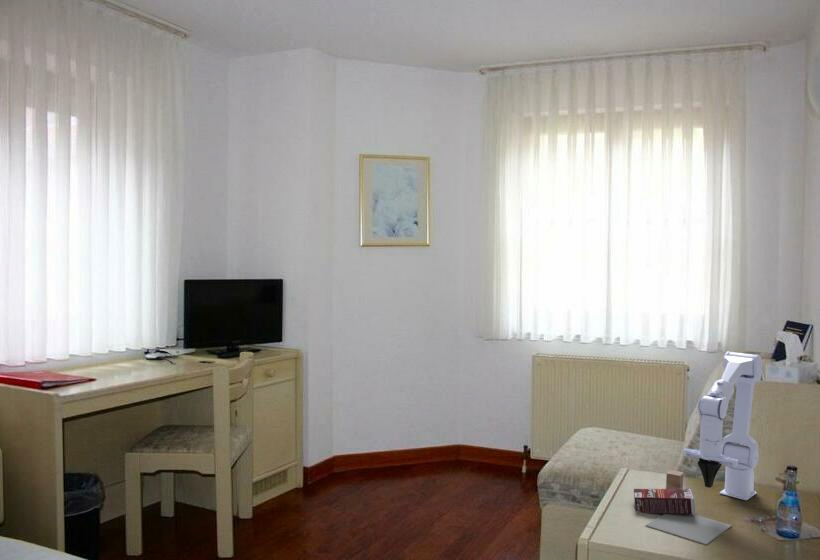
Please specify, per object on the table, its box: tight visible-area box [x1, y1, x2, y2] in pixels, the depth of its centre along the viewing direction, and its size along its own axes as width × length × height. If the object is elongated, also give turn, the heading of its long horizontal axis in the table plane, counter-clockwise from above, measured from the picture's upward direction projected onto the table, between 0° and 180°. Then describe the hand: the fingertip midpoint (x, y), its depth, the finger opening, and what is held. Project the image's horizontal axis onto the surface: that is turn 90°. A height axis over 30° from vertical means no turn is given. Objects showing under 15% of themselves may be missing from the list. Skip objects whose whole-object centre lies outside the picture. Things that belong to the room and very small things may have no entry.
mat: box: [645, 514, 733, 546], centre depth 184 cm, size 18×16×1 cm
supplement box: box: [633, 488, 696, 515], centre depth 195 cm, size 9×5×16 cm
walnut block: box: [665, 469, 684, 489], centre depth 208 cm, size 4×4×7 cm
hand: (708, 486), depth 193 cm, fingers closed
